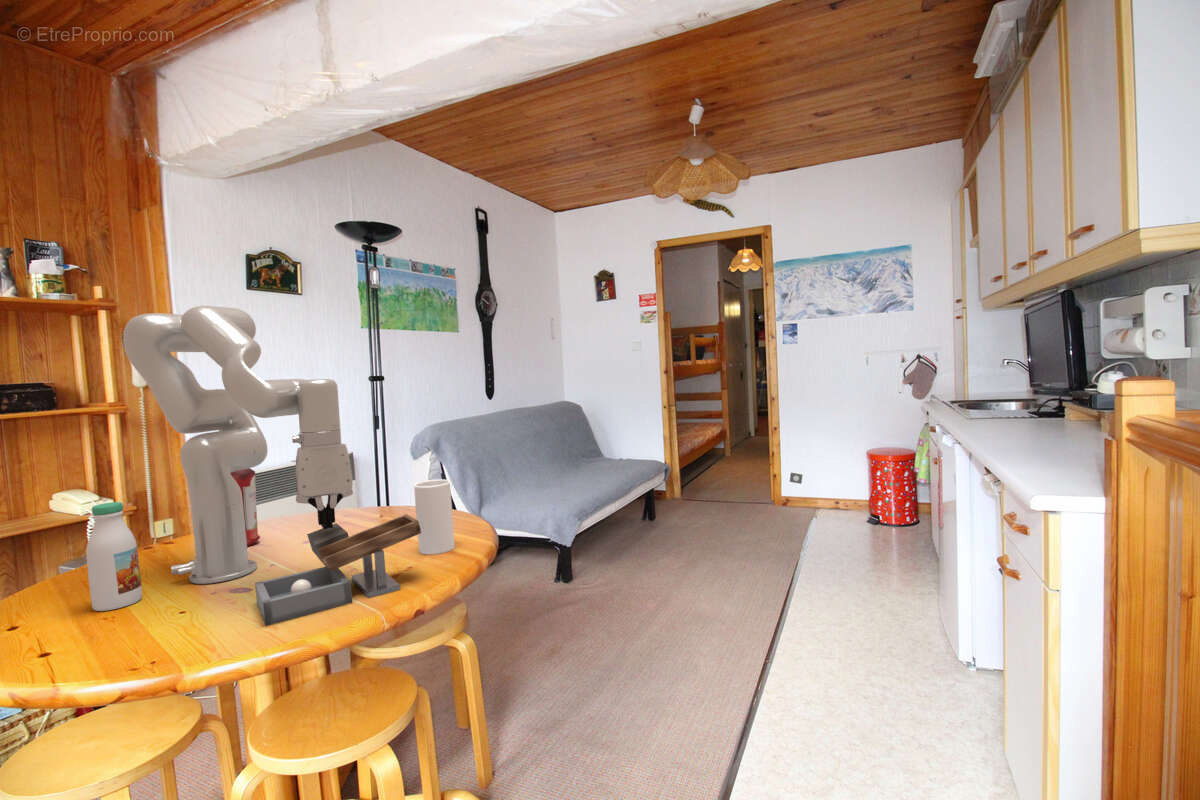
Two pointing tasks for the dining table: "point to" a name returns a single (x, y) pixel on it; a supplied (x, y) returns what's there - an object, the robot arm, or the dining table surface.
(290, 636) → the dining table surface
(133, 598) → the milk bottle
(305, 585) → the ball
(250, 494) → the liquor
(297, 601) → the tray
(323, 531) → the trough
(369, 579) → the pivot stand
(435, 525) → the cup
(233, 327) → the robot arm
